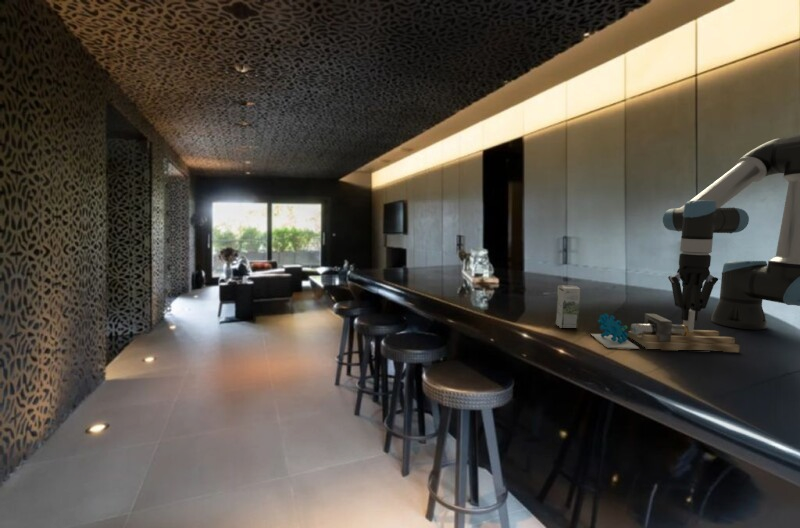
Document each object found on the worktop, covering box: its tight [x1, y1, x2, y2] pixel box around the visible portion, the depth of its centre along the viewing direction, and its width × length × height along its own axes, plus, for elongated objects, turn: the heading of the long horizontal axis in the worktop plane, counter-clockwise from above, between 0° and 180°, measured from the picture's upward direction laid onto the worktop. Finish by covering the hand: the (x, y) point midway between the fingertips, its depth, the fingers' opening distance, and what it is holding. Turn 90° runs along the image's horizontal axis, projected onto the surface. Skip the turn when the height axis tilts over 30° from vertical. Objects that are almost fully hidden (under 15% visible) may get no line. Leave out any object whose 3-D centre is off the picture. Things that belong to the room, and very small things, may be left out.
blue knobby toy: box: [597, 313, 629, 343], centre depth 124 cm, size 11×6×10 cm
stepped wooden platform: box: [627, 313, 741, 353], centre depth 121 cm, size 25×12×8 cm, turn 85°
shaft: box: [630, 323, 689, 336], centre depth 121 cm, size 15×4×4 cm, turn 85°
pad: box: [590, 333, 640, 350], centre depth 123 cm, size 9×13×1 cm
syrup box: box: [555, 285, 581, 329], centre depth 139 cm, size 6×6×14 cm
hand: (687, 330), depth 121 cm, fingers closed
